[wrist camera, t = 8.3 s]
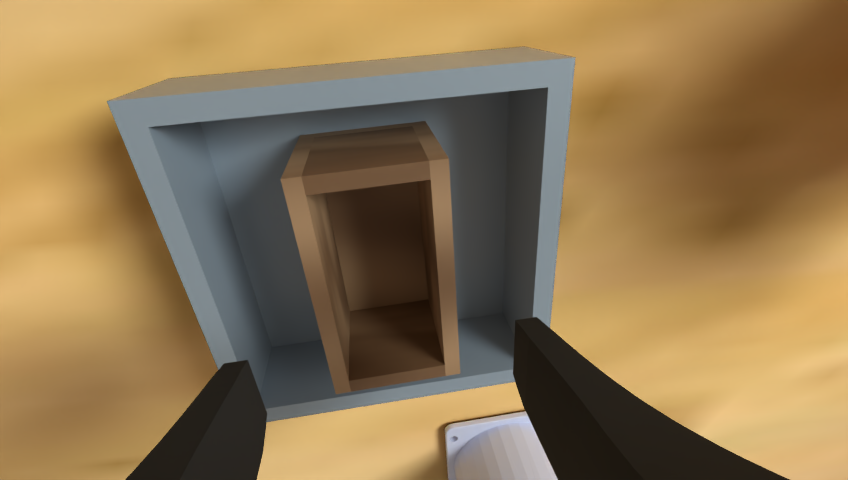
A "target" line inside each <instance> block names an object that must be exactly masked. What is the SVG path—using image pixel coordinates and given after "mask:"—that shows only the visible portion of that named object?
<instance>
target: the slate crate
mask: <svg viewBox="0 0 848 480" xmlns="http://www.w3.org/2000/svg"><path fill="white" fill-rule="evenodd" d="M574 66H575V57H571V56H566V55H562V54H557V53H552V52H548V51H543V50H538V49H534V48H529V47H514V48H503V49H491V50H480V51H469V52H458V53H447V54H436V55H425V56H414V57H403V58H392V59H381V60H369V61H358V62H347V63H336V64H325V65H314V66H303V67H292V68H281V69H270V70H259V71H247V72H236V73H225V74H214V75H203V76H192V77H181V78H170V79H166V80H164V81H161V82H158V83H155V84H153V85H150V86H147V87H145V88H142V89H139V90H136V91H134V92H131V93H128V94H125V95H123V96H120V97H117V98H114V99H112V100H109V101H107V103H108V105H109V108H110V110H111V112H112V115H113V117H114V120H115V122H116V124H117V127H118V129H119V132H120V134H121V136H122V139H123V141H124V144H125V146H126V148H127V151H128V153H129V156H130V158H131V161H132V163H133V165H134V168H135V170H136V173H137V175H138V177H139V180H140V182H141V185H142V187H143V189H144V192H145V194H146V197H147V199H148V201H149V204H150V206H151V209H152V211H153V213H154V216H155V218H156V221H157V223H158V226H159V228H160V230H161V233H162V235H163V238H164V240H165V242H166V245H167V247H168V250H169V252H170V254H171V257H172V259H173V262H174V264H175V266H176V269H177V271H178V274H179V276H180V279H181V281H182V283H183V286H184V288H185V291H186V293H187V295H188V298H189V300H190V303H191V305H192V307H193V310H194V312H195V315H196V317H197V319H198V322H199V324H200V327H201V329H202V331H203V334H204V336H205V339H206V341H207V344H208V346H209V348H210V351H211V353H212V356H213V358H214V360H215V363H216V365H217V368H218V370H219V369H220V368H221V366H222V365H223V364H224V363H230V362H237V361H243V360H248V362H249V364H250V367H251V370H252V373H253V375H254V378H255V381H256V384H257V387H258V389H259V392H260V395H261V398H262V400H263V403H264V406H265V409H266V411H267V421H266V422H270V421H276V420H283V419H289V418H295V417H301V416H307V415H313V414H319V413H326V412H332V411H338V410H344V409H350V408H356V407H362V406H369V405H375V404H381V403H387V402H393V401H399V400H406V399H412V398H418V397H424V396H430V395H436V394H442V393H449V392H455V391H461V390H467V389H473V388H479V387H485V386H492V385H498V384H504V383H510V382H515V379H514V376H513V361H514V338H515V320H519V319H526V318H532V317H537V318H539V319H540V320H541V321H542V322H543V323H545V324H546V325H547V326H548V327H549V328H550V321H551V310H552V300H553V289H554V278H555V268H556V257H557V247H558V236H559V225H560V215H561V204H562V194H563V183H564V172H565V162H566V151H567V141H568V130H569V119H570V109H571V98H572V88H573V77H574ZM420 121H426V123H427V124H428V126H429V128H430V129H431V131H432V132H433V134H434V136H435V137H436V139H437V140H438V142H439V144H440V145H441V147H442V148H443V150H444V151H445V153H446V155H447V156H448V158H449V170H450V189H451V207H452V226H453V245H454V264H455V283H456V301H457V320H458V339H459V358H460V374H455V375H449V376H443V377H437V378H431V379H425V380H419V381H413V382H407V383H401V384H395V385H389V386H383V387H377V388H371V389H365V390H359V391H353V392H347V393H341V394H336V393H335V389H334V385H333V381H332V377H331V374H330V370H329V366H328V362H327V358H326V354H325V350H324V346H323V342H322V339H321V335H320V331H319V327H318V323H317V319H316V315H315V311H314V307H313V304H312V300H311V296H310V292H309V288H308V284H307V280H306V276H305V272H304V269H303V265H302V261H301V257H300V253H299V249H298V245H297V241H296V238H295V234H294V230H293V226H292V222H291V218H290V214H289V210H288V206H287V203H286V199H285V195H284V191H283V187H282V183H281V177H282V175H283V172H284V170H285V168H286V166H287V163H288V161H289V159H290V157H291V154H292V152H293V150H294V148H295V145H296V143H297V141H298V139H299V136H300V135H307V134H316V133H324V132H333V131H342V130H350V129H359V128H368V127H377V126H385V125H394V124H403V123H411V122H420Z"/></svg>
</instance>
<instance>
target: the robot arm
mask: <svg viewBox="0 0 848 480" xmlns="http://www.w3.org/2000/svg"><path fill="white" fill-rule="evenodd" d="M513 376H514V379H515V382H516V385H517V388H518V391H519V394H520V397H521V400H522V403H523V406H524V409H525V411H524V412H518V413H512V414H506V415H500V416H494V417H488V418H482V419H477V420H471V421H465V422H459V423H453V424H449V425H448V426H447V427H446V428H445V443H446V457H447V471H448V480H789V479H787V478H785V477H782V476H780V475H778V474H776V473H774V472H772V471H770V470H767V469H765V468H763V467H761V466H759V465H757V464H755V463H753V462H750V461H748V460H746V459H744V458H742V457H740V456H738V455H736V454H734V453H732V452H730V451H728V450H726V449H724V448H722V447H720V446H718V445H717V444H715V443H713V442H711V441H709V440H708V439H706V438H704V437H702V436H700V435H698V434H697V433H695V432H693V431H691V430H689V429H687V428H686V427H684V426H682V425H681V424H679V423H677V422H675V421H674V420H672V419H670V418H669V417H667V416H666V415H664V414H663V413H661V412H659V411H658V410H656V409H655V408H653V407H651V406H650V405H648V404H647V403H645V402H644V401H642V400H641V399H639V398H638V397H636V396H635V395H633V394H632V393H630V392H629V391H628V390H626V389H625V388H623V387H622V386H621V385H619V384H618V383H616V382H615V381H614V380H612V379H611V378H610V377H608V376H607V375H606V374H604V373H603V372H602V371H601V370H599V369H598V368H597V367H596V366H594V365H593V364H592V363H591V362H589V361H588V360H587V359H586V358H584V357H583V356H582V355H581V354H579V353H578V352H577V351H576V350H575V349H573V348H572V347H571V346H570V345H569V344H568V343H566V342H565V341H564V340H563V339H562V338H561V337H559V336H558V335H557V334H556V333H555V332H554V331H553V330H551V329H550V328H549V327H548V326H547V325H546V324H545V323H543V322H542V321H541V320H540V319H539V318H537V317H532V318H526V319H519V320H515V338H514V361H513ZM266 421H267V411H266V409H265V406H264V403H263V400H262V398H261V395H260V392H259V389H258V387H257V384H256V381H255V378H254V375H253V373H252V370H251V367H250V364H249V362H248V360H243V361H237V362H230V363H224V364H223V365H222V366H221V368H220V369H219V370H218V371H217V372H216V374H215V375H214V376H213V377H212V378H211V380H210V381H209V382H208V383H207V385H206V386H205V387H204V388H203V390H202V391H201V392H200V394H199V395H198V396H197V397H196V398H195V400H194V401H193V402H192V403H191V405H190V406H189V407H188V408H187V410H186V411H185V412H184V413H183V415H182V416H181V417H180V418H179V419H178V421H177V422H176V423H175V424H174V425H173V427H172V428H171V429H170V430H169V431H168V433H167V434H166V435H165V436H164V437H163V438H162V440H161V441H160V442H159V443H158V444H157V445H156V446H155V448H154V449H153V450H152V451H151V452H150V453H149V454H148V455H147V456H146V458H145V459H144V460H143V461H142V462H141V463H140V464H139V465H138V467H137V468H136V469H135V470H134V471H133V472H132V473H131V474H130V475H129V476H128V477H127V478H126V480H256V479H257V475H258V471H259V467H260V463H261V458H262V454H263V447H264V439H265V430H266Z"/></svg>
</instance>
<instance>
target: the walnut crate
mask: <svg viewBox="0 0 848 480" xmlns="http://www.w3.org/2000/svg"><path fill="white" fill-rule="evenodd" d="M281 183H282V187H283V191H284V195H285V199H286V203H287V206H288V210H289V214H290V218H291V222H292V226H293V230H294V234H295V238H296V241H297V245H298V249H299V253H300V257H301V261H302V265H303V269H304V272H305V276H306V280H307V284H308V288H309V292H310V296H311V300H312V304H313V307H314V311H315V315H316V319H317V323H318V327H319V331H320V335H321V339H322V342H323V346H324V350H325V354H326V358H327V362H328V366H329V370H330V374H331V377H332V381H333V385H334V389H335V393H336V394H341V393H347V392H353V391H359V390H365V389H371V388H377V387H383V386H389V385H395V384H401V383H407V382H413V381H419V380H425V379H431V378H437V377H443V376H449V375H455V374H460V358H459V339H458V320H457V301H456V283H455V264H454V245H453V226H452V207H451V189H450V170H449V158H448V156H447V155H446V153H445V151H444V150H443V148H442V147H441V145H440V144H439V142H438V140H437V139H436V137H435V136H434V134H433V132H432V131H431V129H430V128H429V126H428V124H427V123H426V121H420V122H411V123H403V124H394V125H385V126H377V127H368V128H359V129H350V130H342V131H333V132H324V133H316V134H307V135H300V136H299V139H298V141H297V143H296V145H295V148H294V150H293V152H292V154H291V157H290V159H289V161H288V163H287V166H286V168H285V170H284V172H283V175H282V177H281Z"/></svg>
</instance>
